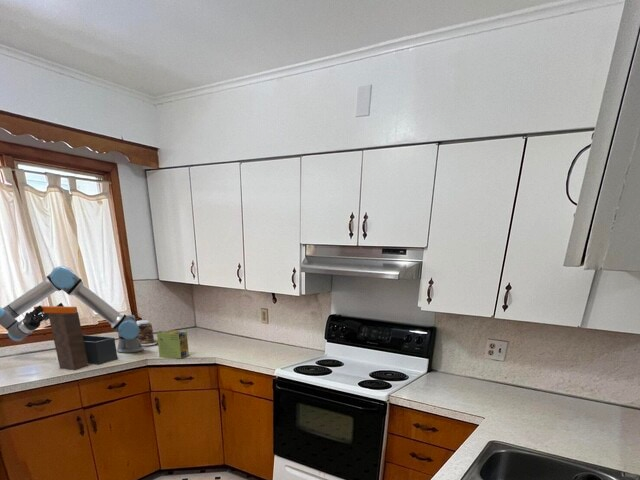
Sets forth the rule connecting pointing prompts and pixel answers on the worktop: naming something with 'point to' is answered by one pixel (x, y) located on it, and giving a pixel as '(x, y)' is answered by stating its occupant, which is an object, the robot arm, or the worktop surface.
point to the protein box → (172, 344)
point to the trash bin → (99, 349)
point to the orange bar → (58, 309)
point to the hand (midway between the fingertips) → (52, 306)
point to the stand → (68, 340)
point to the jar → (145, 331)
